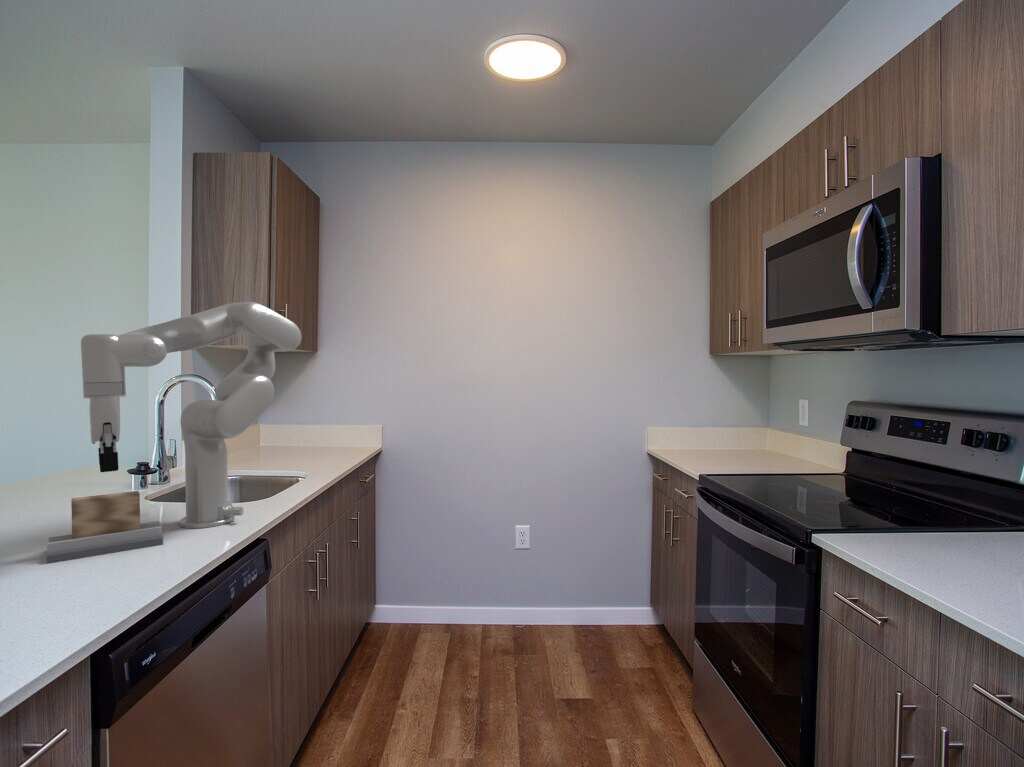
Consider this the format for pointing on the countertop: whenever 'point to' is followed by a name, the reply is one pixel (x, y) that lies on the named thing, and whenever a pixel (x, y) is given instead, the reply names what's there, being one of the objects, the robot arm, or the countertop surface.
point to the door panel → (105, 514)
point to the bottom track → (103, 543)
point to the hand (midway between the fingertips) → (108, 467)
